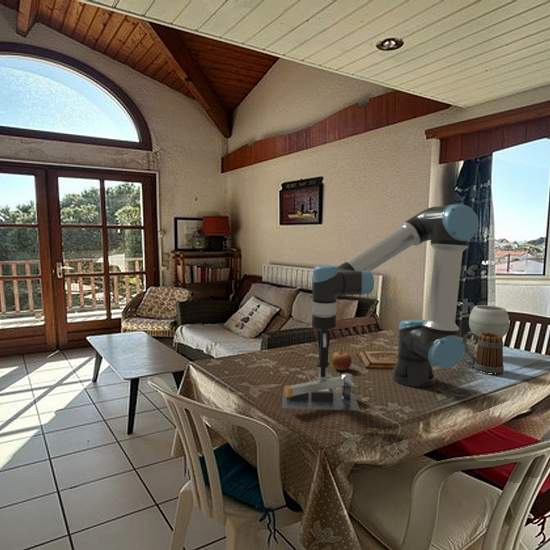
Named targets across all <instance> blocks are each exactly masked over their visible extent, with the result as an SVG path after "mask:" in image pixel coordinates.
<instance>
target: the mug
mask: <svg viewBox="0 0 550 550" xmlns="http://www.w3.org/2000/svg"><path fill="white" fill-rule="evenodd" d="M470 335H471V336H473V337H474V339H475V341H474V342H473V345H474V346H476V344H477V343H478V347H477V352H476V353H475V354H476V356H474V354H473V353H472V352H471V351H470V349H469V347H468V344H467V338H468V336H470ZM503 339H504V337H502V335H499V334H495V333H491V334H490V333H480V334H479V336H478V335H477V334H476V333H474V332H472V331H469V332H467V333H465V334H463V337H462V342H464V345H465V352H466V354H467V355H468V356H469V358H470V359H471V360H469V359H468V360H466V363H467V365H469V366H470V367H471V366H474V370H475V369H477V370H478V371H482V372H485V373H492V374H495V373H496V374H500V373H502V374H503V373H504V369H505V368H504V367H505V366H504V350H503V349H504V348H503V347H504V341H503ZM477 370H476V371H477ZM478 371H477V372H478ZM500 375H501V374H500Z"/></svg>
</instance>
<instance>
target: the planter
mask: <svg viewBox="0 0 550 550" xmlns="http://www.w3.org/2000/svg"><path fill="white" fill-rule="evenodd" d="M468 318H469V319H468V326H469V329H470V332H474V333H476V334H477V335H478V336H479V334H480V333H490V334H491V333H495V334H499V335H502V337H503V338H504V337H505V336H506V335H507V334H508V332H509V329H510V317H509V314H508V311H507V309H506V308H504V307H501V306H495V305H485V304H483V305H482V304H481V305H480V304H479V305H475V306H473V308H472V310H471V311H470V314H469V317H468ZM477 347H478V343H477V344H476V345H475V349H474V352H475V351H477Z"/></svg>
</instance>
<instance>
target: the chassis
mask: <svg viewBox="0 0 550 550" xmlns="http://www.w3.org/2000/svg"><path fill="white" fill-rule="evenodd" d="M281 409H286V410H289V409H292V410H293V409H294V410H318V411H319V410H321V411H323V410H325V411H354V412H355V411H357V412H358V411H359V412H360V411H361V409H360V406H359V404H358V401H357V398H356V396H355V393H352V386H350V387H345V386H341V392H333V400H312V399H311V392H310V393H309V400H305V399H287V396H286V395H284V391H282V399H281Z"/></svg>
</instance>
